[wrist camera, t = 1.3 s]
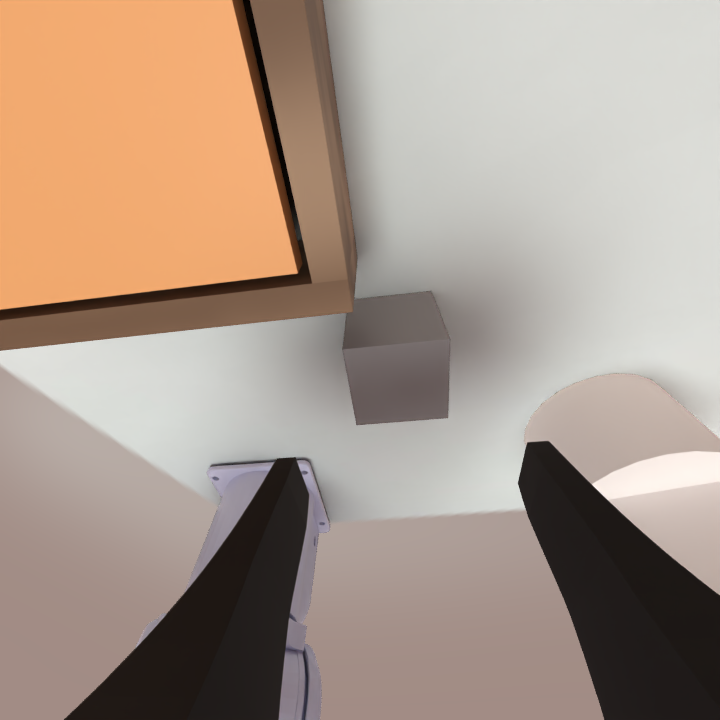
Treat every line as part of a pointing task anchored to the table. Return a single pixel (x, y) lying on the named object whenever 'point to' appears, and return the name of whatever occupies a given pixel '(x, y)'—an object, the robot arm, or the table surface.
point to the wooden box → (311, 197)
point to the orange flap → (134, 151)
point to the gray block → (397, 359)
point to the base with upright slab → (642, 461)
